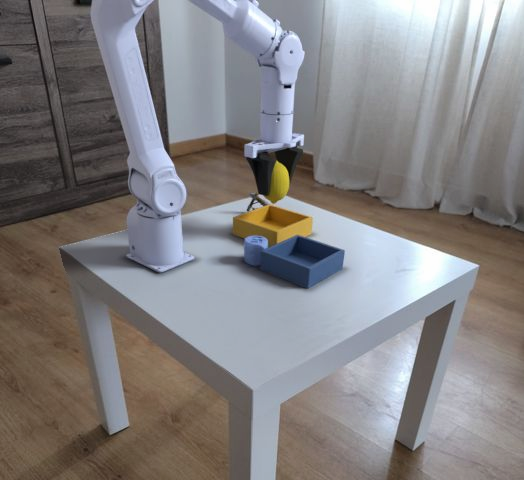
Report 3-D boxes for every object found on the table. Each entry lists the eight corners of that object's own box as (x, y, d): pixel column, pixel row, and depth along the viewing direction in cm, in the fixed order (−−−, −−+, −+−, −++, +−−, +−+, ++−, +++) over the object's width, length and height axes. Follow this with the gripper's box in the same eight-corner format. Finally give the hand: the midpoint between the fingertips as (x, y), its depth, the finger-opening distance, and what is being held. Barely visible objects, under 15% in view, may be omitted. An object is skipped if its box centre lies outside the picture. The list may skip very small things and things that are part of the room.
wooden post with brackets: (245, 206, 108) (253, 188, 105) (275, 226, 108) (284, 208, 105) (241, 209, 107) (250, 191, 104) (272, 228, 107) (281, 211, 104)
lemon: (285, 209, 91) (288, 165, 87) (256, 207, 92) (257, 162, 87) (290, 200, 96) (292, 157, 91) (262, 198, 96) (263, 155, 92)
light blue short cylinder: (244, 265, 85) (244, 243, 83) (244, 256, 89) (244, 235, 86) (267, 266, 85) (267, 244, 83) (266, 256, 89) (267, 235, 86)
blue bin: (260, 269, 84) (260, 250, 82) (296, 252, 91) (297, 234, 89) (308, 288, 79) (309, 268, 77) (342, 268, 85) (345, 250, 83)
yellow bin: (232, 234, 97) (232, 217, 95) (268, 220, 104) (269, 204, 102) (276, 250, 91) (277, 232, 89) (311, 234, 98) (313, 217, 96)
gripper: (267, 120, 78) (265, 204, 86) (319, 110, 87) (313, 187, 95) (235, 114, 82) (235, 195, 90) (288, 105, 91) (284, 180, 99)
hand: (273, 191), depth 93 cm, fingers closed on lemon, 5 cm apart
